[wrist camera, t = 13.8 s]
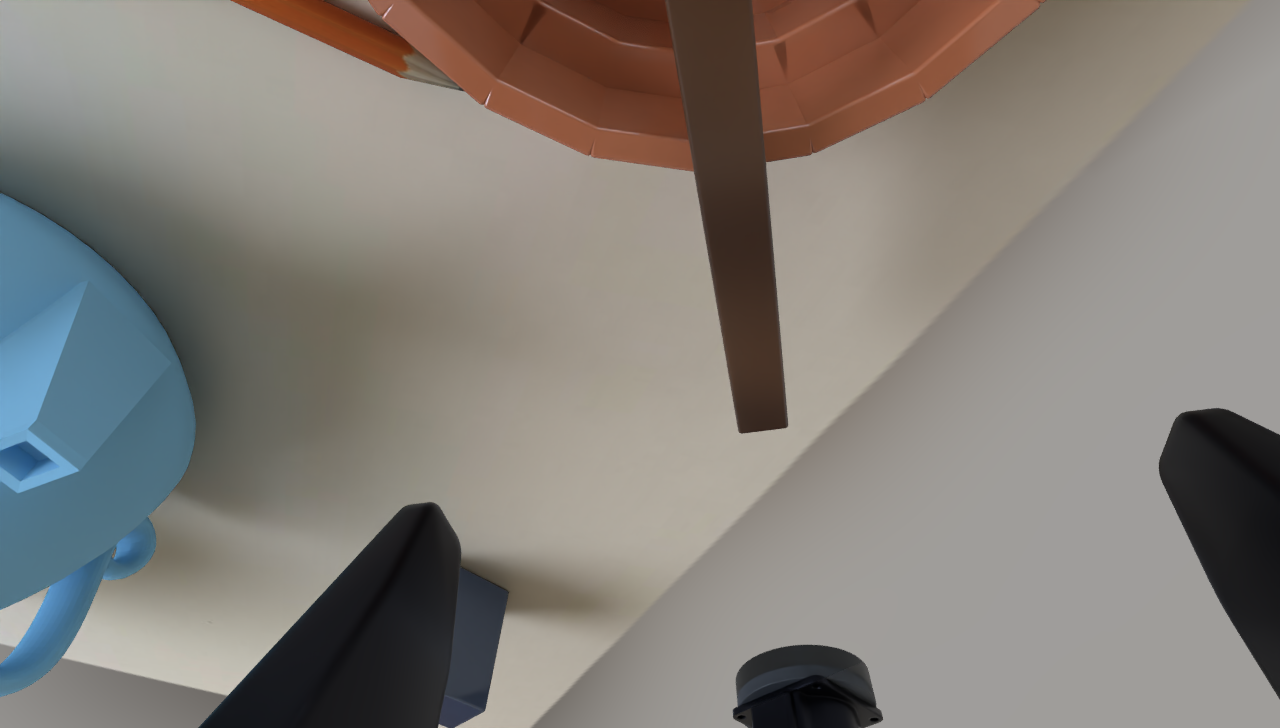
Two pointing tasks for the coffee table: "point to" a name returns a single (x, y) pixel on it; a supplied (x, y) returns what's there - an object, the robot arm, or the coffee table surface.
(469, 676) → the slate blue rectangular block
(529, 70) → the bowl
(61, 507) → the teapot
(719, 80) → the brown round-ended long piece
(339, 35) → the pencil
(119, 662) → the coffee table surface
